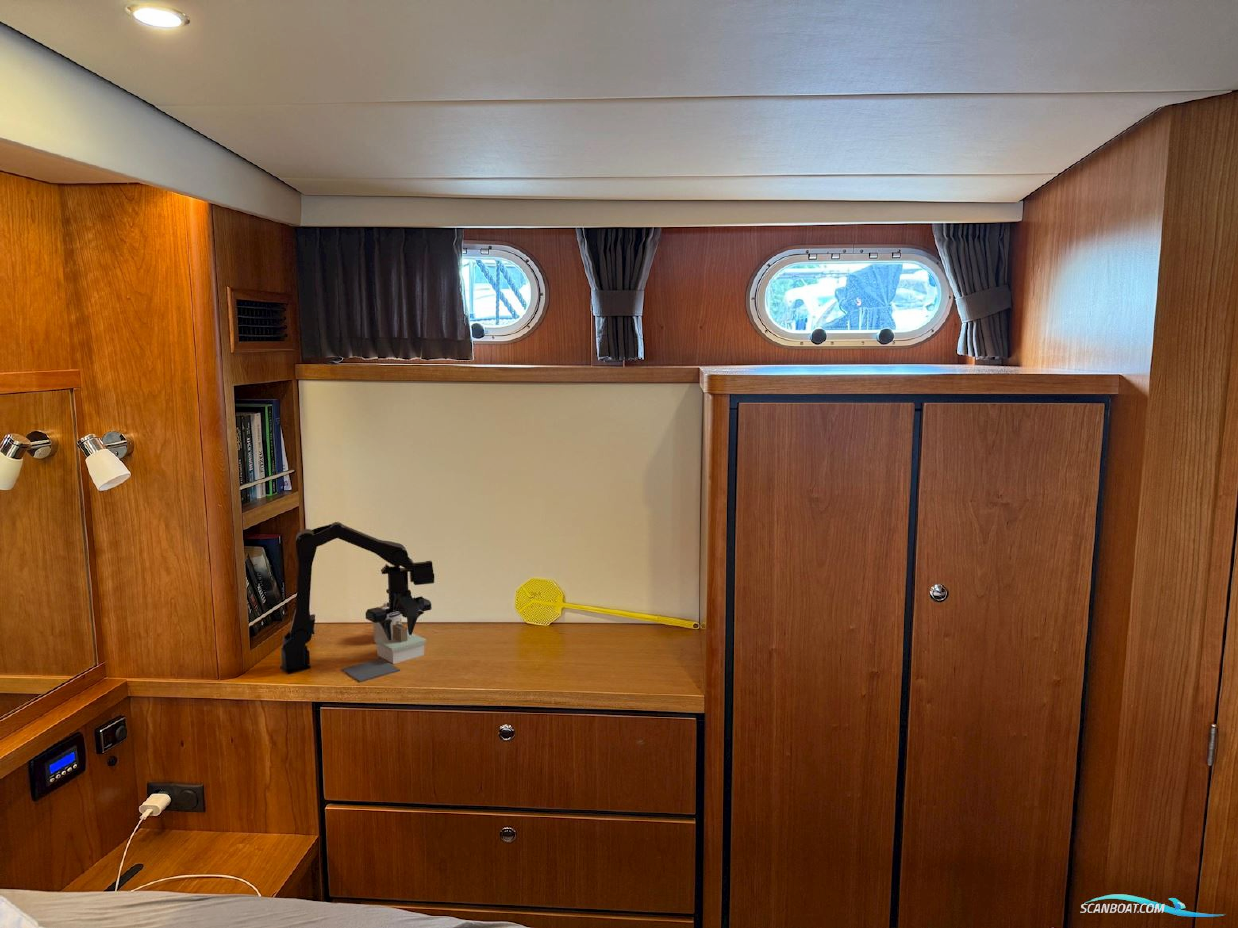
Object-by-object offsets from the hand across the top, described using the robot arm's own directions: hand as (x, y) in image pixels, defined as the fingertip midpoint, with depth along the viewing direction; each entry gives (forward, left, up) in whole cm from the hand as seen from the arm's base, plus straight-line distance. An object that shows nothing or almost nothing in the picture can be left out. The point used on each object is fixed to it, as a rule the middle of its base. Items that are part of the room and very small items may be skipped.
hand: (400, 637), depth 234 cm
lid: (0, 0, -1) cm, 1 cm away
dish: (0, 0, -5) cm, 5 cm away
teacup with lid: (+5, +17, -6) cm, 19 cm away
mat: (-12, -5, -5) cm, 14 cm away
